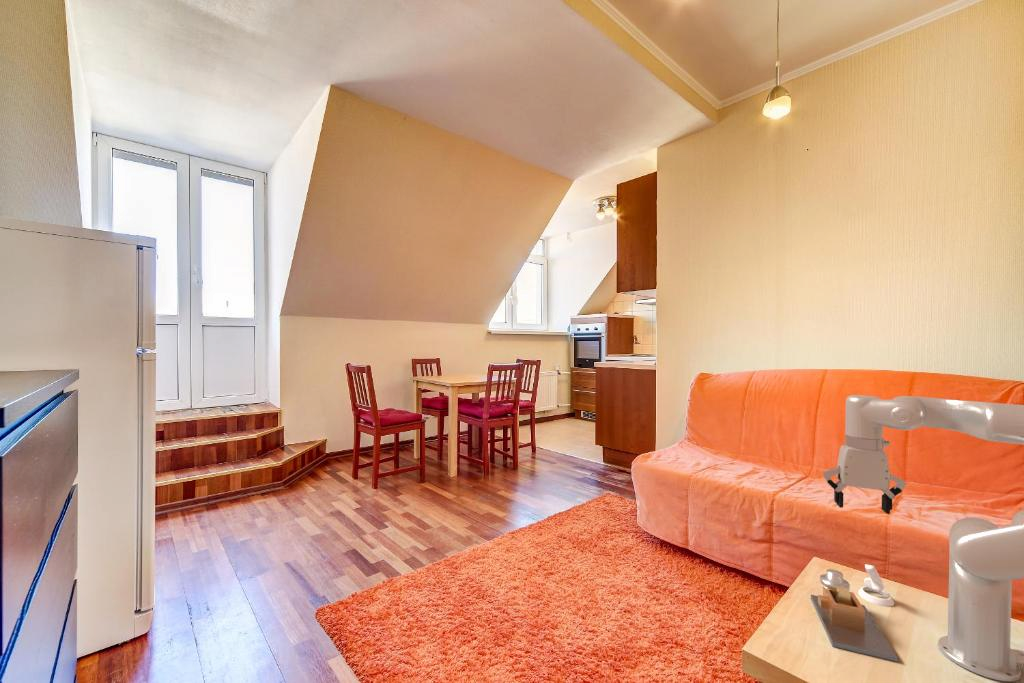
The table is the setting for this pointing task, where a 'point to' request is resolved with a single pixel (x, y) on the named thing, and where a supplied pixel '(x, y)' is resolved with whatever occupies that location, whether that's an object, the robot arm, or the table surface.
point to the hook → (875, 588)
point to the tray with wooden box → (849, 621)
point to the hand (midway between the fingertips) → (862, 508)
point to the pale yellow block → (843, 596)
